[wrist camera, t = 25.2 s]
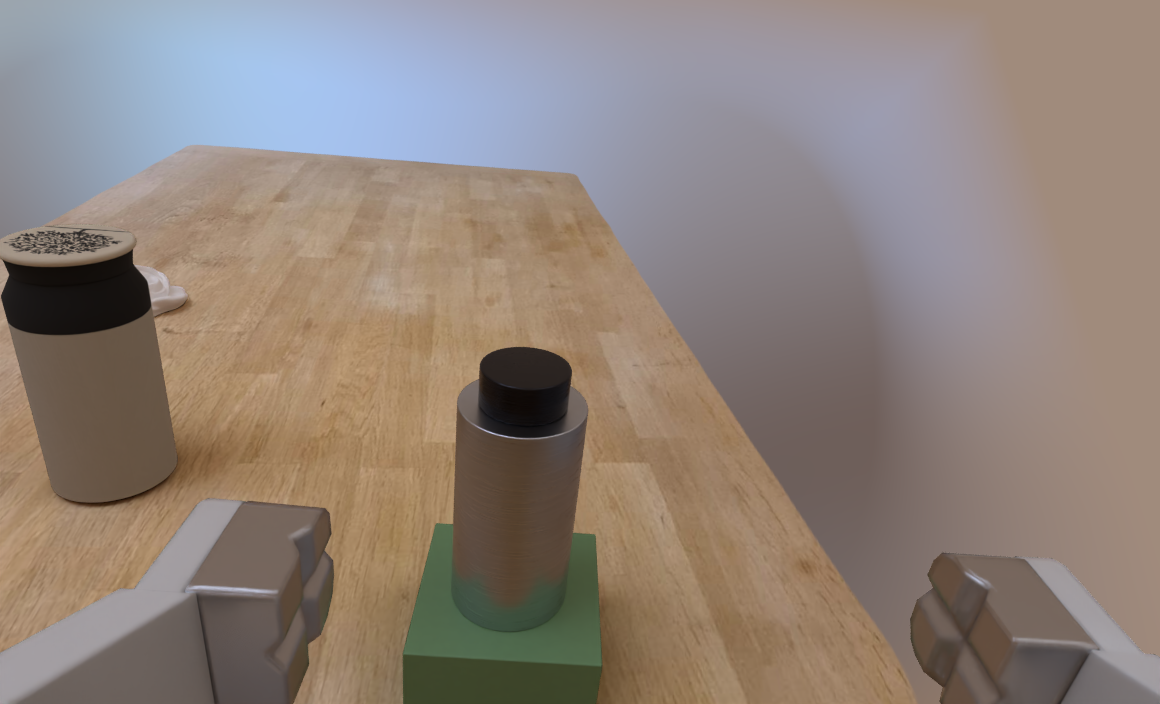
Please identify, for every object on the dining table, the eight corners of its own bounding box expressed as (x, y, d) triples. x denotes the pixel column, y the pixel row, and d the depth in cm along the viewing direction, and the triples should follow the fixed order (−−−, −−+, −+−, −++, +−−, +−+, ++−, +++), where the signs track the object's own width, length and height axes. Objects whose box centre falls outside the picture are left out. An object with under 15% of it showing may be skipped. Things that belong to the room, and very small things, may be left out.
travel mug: (137, 512, 50) (87, 267, 42) (24, 499, 50) (-48, 252, 42) (198, 449, 57) (165, 230, 49) (99, 438, 57) (50, 216, 49)
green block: (587, 593, 47) (595, 533, 45) (591, 732, 38) (602, 666, 36) (434, 583, 47) (436, 522, 44) (402, 721, 38) (402, 654, 35)
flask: (566, 552, 43) (591, 343, 37) (564, 636, 37) (594, 406, 31) (459, 544, 43) (467, 332, 37) (442, 628, 37) (448, 393, 31)
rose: (89, 252, 80) (187, 250, 83) (96, 289, 82) (192, 286, 85) (69, 285, 72) (179, 281, 75) (78, 325, 73) (185, 320, 77)
